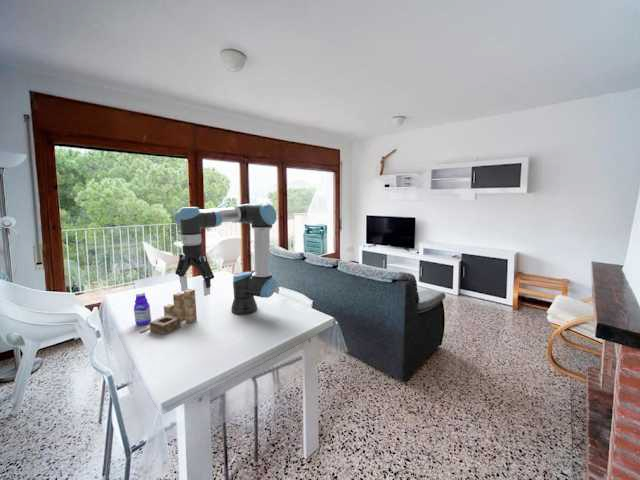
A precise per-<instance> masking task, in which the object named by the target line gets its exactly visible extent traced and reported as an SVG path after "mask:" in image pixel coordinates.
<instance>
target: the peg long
mask: <svg viewBox="0 0 640 480" xmlns="http://www.w3.org/2000/svg"><path fill="white" fill-rule="evenodd" d="M183 293H184V305H185V319H184V320H185V323H186V324H193V323H196V322H198V317H197V302H196V300H197V299H196V289H193V288H192V289H191V288H188V290H185V291H183Z"/></svg>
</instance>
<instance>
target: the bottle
mask: <svg viewBox="0 0 640 480" xmlns="http://www.w3.org/2000/svg"><path fill="white" fill-rule="evenodd" d="M150 306H151V305H150V303H149V302H148V298H147V297H146V293H145V291H139V292H136V293H135V301H134V306H133V313H134V321H135V324H136V325H137V326H145V325H150V322H152V316H151V315H152V313H151V309H150V308H151V307H150Z"/></svg>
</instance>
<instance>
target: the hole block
mask: <svg viewBox="0 0 640 480" xmlns="http://www.w3.org/2000/svg"><path fill="white" fill-rule="evenodd" d="M149 327H150V332H151V333H153V334H154V333H155V334H158V335H163V336H165V335H168V334H170V333H172V332H174V331H176V330H177V329H179V328H182V321H181V320H180V318H178V317H173V316H169V315H166V316H164V315H163V316H161V317H159V318H157V319H154V320H151V321H150V323H149Z"/></svg>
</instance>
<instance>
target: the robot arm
mask: <svg viewBox="0 0 640 480" xmlns="http://www.w3.org/2000/svg"><path fill="white" fill-rule="evenodd" d="M276 221H277V211H276V210H275V208H274V205H272V204H269V203H243V204H238V205H232V206H229V207H223V208H222V207H220V208H219V207H218V208H205V209H202V208H201V209H200V207H198V206H188V207H187V206H185V207H184V206H183V207H181V208H180V209H179V210H178V211H176V212H175V214H174V222H175V224H176V225H178V226H180V233H181V234H180V235H181V243H182V246H181V247H182V248H181V249H182V253H181V254H179V257H178V258H179V259H178V264H177V267H176V268H175V275H178V277H179V283H180V290H181V292H184V291H185V290H188V289H189V288H188V287H189V286H188V278H187V276H188V275H187V272H188V271H189V269H190V267H191V266H192V267H195V269H197V270H198V272H199V274H200V275H201V276H202V278H203V281H202V285H203V296H204V297H207V296H208V295H211V287H212V285H211V280H212V279H214V278H215V276H214V273H213V271H212V268H211V266H210V264H209V260H208V257H207V255H204V256H202V253H203V245H202V242H203V241H202V231H201V230H202V229H208V228H209V229H210V228H216V227H219V226H221V225H222V223H228V222H231V223H240V224H249V225H250V224H251V229H252V230H253V232H254V235H253V236H254V237H253V238H254V239H253V240H254V243H253V244H254V246H253V247H254V272H253V271H243V272H238V273H236V274H235V275H233V277H232V279H233V281H232V286H233V301H232V305H231V313H233V314H235V315H249V314H252V313H254V312H257V310H258V304H257V301H256V299H255V297H259V298H264V299H265V298H266V299H268V298H270V297H272V296H273V295H274V293H275V292H276V289H277V280H276V279H275V278H274V277H273V273H272V272H271V269H270V268H271V267H270V265H271V264H270V263H271V262H270V257H271V256H270V254H271V253H270V251H271V250H270V246H271V245H270V243H271V242H270V240H271V239H270V233H271V232H270V231H271V229H272V228H273V225H274V224H275V223H276ZM254 296H255V297H254Z"/></svg>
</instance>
